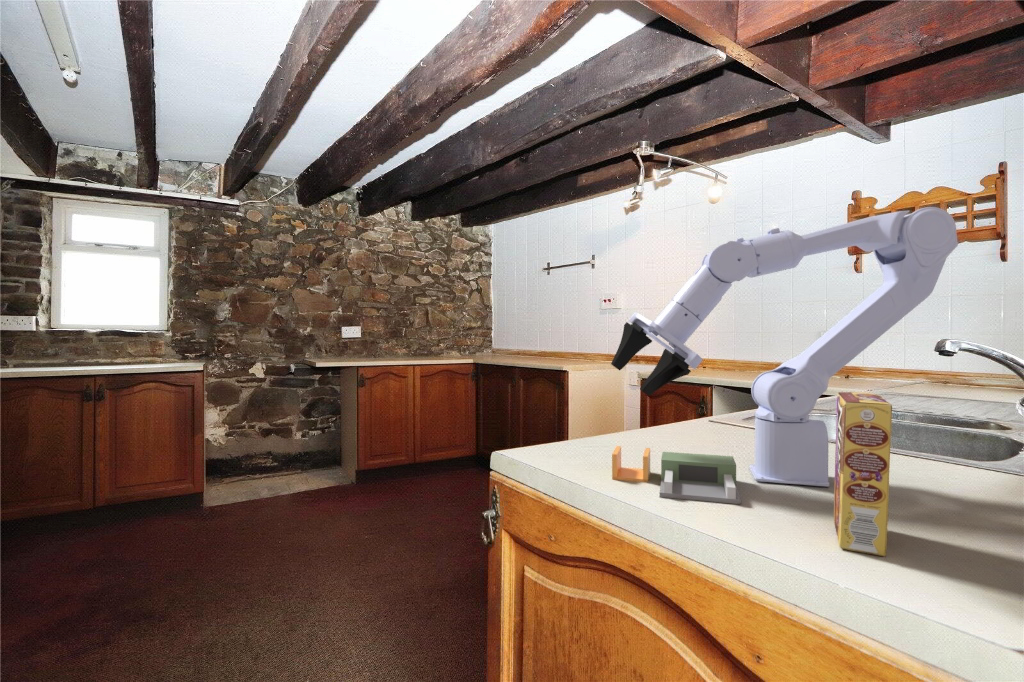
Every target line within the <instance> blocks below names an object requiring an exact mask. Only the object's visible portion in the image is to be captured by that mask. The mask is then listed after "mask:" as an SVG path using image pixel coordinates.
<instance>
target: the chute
mask: <svg viewBox="0 0 1024 682" xmlns="http://www.w3.org/2000/svg"><path fill="white" fill-rule="evenodd" d="M611 456H612V457H611V462H612V463H611V467H612V468H611V474H612V475H611V480H615V481H625V482H626V481H627V482H636V483H637V482H638V483H639V482H640V483H649V479H650V476H651V475H650V474H651V448H650V447H645V449H644V452H643V455H642V468H636V467H635V468H634V467H622V446H621V445H616V446H615V448H614V451H613V452H612V455H611Z"/></svg>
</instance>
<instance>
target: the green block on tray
mask: <svg viewBox="0 0 1024 682" xmlns="http://www.w3.org/2000/svg"><path fill="white" fill-rule="evenodd" d="M660 463H661V467H660V468H661V469H660V470H661V471H660V473H661V475H660V477H661V478H660V479H661V480H660V487H659V498H665V499H666V498H667V499H676V500H677V499H678V500H688V501H689V500H690V501H700V502H710V503H719V504H720V503H723V504H730V505H731V504H734V505H742V504H741V503H742V501H741V500H742V499H741V497H740V494H739V490H738V487H737V463H736V461H735V458H734V456H732V455H720V454H717V455H716V454H701V453H687V452H686V453H685V452H675V451H674V452H671V451H662V454H661V462H660Z"/></svg>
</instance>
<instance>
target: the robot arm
mask: <svg viewBox="0 0 1024 682" xmlns="http://www.w3.org/2000/svg"><path fill="white" fill-rule="evenodd" d="M958 246H959V242H958V234H957V224H956V221H955V219H954V218H953V216H952V215H951V214H950V213H949V212H948V211H947V210H945V209H943V208H939V207H937V206H927V207H926V206H925V207H922V208H918V209H917V210H915V211H913V212H911V213H910V210H898V211H895V212H889V213H883V214H877V215H874V216H868V217H865V218H861V219H857V220H853V221H850V222H846V223H842V224H840V225H835V226H831V227H828V228H823V229H821V230H817V231H813V232H809V233H806V234H801V235H799V234H797V233H795V232H793V231H791V230H789V229H787V230H786V229H785V230H781V229H780V228H779V227H776V228H772V229H769V230H768V231H767V234H765V235H760V236H757V237H752V238H749V239H744V238H743V237H738V238H736V239H735V240H729V241H727V242H726V243H723V244H720V245H718V246H717V247H716V248H714V249H713V250H710V252H709V253H708V254H705V255H704V257H703V258H702V261H701V266H700V267H698V268H697V269H696V270H695V272H694V274H693V276H690V277H689V278H688V279H687V280H686V281H685V283H684V284H683V285H682V286H681V288H680V289H679V290H678V291H677V293H675V295H674V296H673V297H672V298H671V300H670V301H669V302H668V303H667V305H666V306H665V307H664V308H663V310H662V311H661V312H660V313H659V314H658V315H657V317H656V318H654V320H650V319H649V318H647V317H645V316H643V315H642V314H640V313H639V312H637V311H635V312H634V313H633V314H632V315H631V317H629V319H628V322H627V321H626V322H625V324H624V325H623V331H622V335H621V339H620V343H619V345H618V348H617V350H616V353H615V354H614V356H613V359H612V361H611V364H610V365H611V366H613V367H614V368H616V369H617V370H618V371H621V370H622V369H623V368H624V367H625V366H626V365H627V364H628V363H629V362H630V361H631V360H632V359H633V357H635V355H637V354H638V353H639V352H640V351H641V350H643V349H644V348H645V347H647V346H648V345H649V344H652V342H653V340H654V341H655V342H656V343H658V344H660V345H661V346H662V347H664V349H663V352H662V354H661V356H660V359H659V360H658V362H657V364H656V365H655V367H654V368H653V370H652V371H651V373H650V374H649V375H648V376H647V378H646V379H645V380H644V382H643V383H642V385H641V386H640V388H639V390H640V391H641V392H642V393H644V394H645V395H646V396H648V397H650V396H651V395H652V394H654V393H655V392H656V391H658V390H660V388H662V387H664V386H665V385H667V384H669V383H671V382H672V381H675V380H677V379H678V378H682V377H685V376H687V375H688V376H689V374H690V373H691V372H692V371H691V369H689V368H692V369H693V370H696V369H697V368H698V367H699V365H700V364H701V363H703V361H704V358H702V356H700V355H699V354H698V353H696V352H695V351H693V350H692V349H691V348H689V347H688V346H687V345H685V344H686V342H687V341H688V340H689V338H691V336H692V335H693V334H694V333H695V332H696V330H697V329H698V328H699V327H700V326H701V324H702V323H703V322H704V321H705V320H706V318H707V317H708V316H709V315H710V314H711V313H712V312H713V310H714V309H715V308H716V307H717V305H718V304H719V303H720V302H721V301H722V299H723V296H724V295H725V294H726V293H727V292H728V290H729V289H730V288H731V287H732V285H733V284H732V283H734V282H740V281H742V280H744V279H745V278H746V277H748V278H755V277H760V276H765V275H768V274H772V273H773V274H775V273H778V272H782V271H786V270H791V269H794V268H797V267H798V266H799V264H800V262H801V261H803V258H804V257H807V256H812V255H816V254H821V253H826V252H830V251H831V252H832V251H836V250H840V249H846V248H850V247H857V248H859V249H860V250H862V251H863V252H867V253H868V252H869V253H870V252H872V253H873V254H874V257H875V259H876V261H877V263H878V265H879V268H880V269H881V273H882V280H883V283H882V285H880V286H879V287H878V288H877V289H876V290H874V291H873V292H872V293H871V294H870V295H868V296H867V297H866V298H865V299H863V300H862V301H861V302H860V303H858V305H856V307H854V308H853V309H852V310H851V311H849V312H848V313H847V314H845V316H844V317H842V318H841V319H840V320H839V321H838V322H836V323H835V324H834V325H833V326H831V328H829V329H828V330H827V331H826V332H825V333H823V334H822V335H821V336H820V337H819V338H818V339H816V340H815V341H814V342H813V343H811V345H809V346H808V347H807V348H806V349H805V350H803V351H802V352H801V353H800V354H798V355H796V356H795V357H792V358H790V359H788V360H786V361H784V362H782V363H780V365H779V366H777V367H776V368H774V369H771V370H767V371H764V372H762V373H760V374H758V375H757V376H756V377H755V378H754V380H753V382H752V383H751V389H750V391H751V392H750V393H751V397H752V399H753V401H754V403H755V404H756V405H758V408H757V410H756V411H755V413H754V464H752V463H751V464H749V466H748V467H749V469H750V472H751V474H752V476H753V478H754V480H755V481H756V482H764V483H775V484H788V485H789V484H790V485H802V486H815V487H830V482H829V434H828V428H827V425H826V423H825V421H823V420H820V419H810V414H811V412H812V411H813V410H814V409H815V406H816V403H817V401H818V399H819V398H820V397H821V396H822V395H823V394H824V393H825V392H827V390H828V387H829V383H830V381H829V380H830V379H831V378H833V376H834V375H835V374H837V373H838V372H839V371H840V370H841V369H843V368H844V367H845V366H846V365H847V364H849V363H850V362H852V361H853V360H854V359H855V358H856V357H857V356H858V355H860V354H861V353H862V352H863V351H865V350H867V348H868V347H869V346H870V345H872V344H873V343H875V341H877V340H878V339H880V338H881V336H883V335H884V334H885V333H886V332H887V331H889V330H890V329H891V328H893V326H895V325H896V324H897V323H899V321H901V320H903V318H904V317H906V316H907V315H908V314H909V313H910V312H912V311H913V310H914V309H915V308H917V307H918V306H919V305H921V303H923V302H924V301H925V300H926V299H927V298H929V296H931V295H932V293H933V291H934V289H935V287H936V284H937V282H938V281H939V277H940V275H941V273H942V270H943V268H944V266H945V263H946V261H947V258H948V257H949V256H950V255H951V254H952V253H953V251H954V250H956V248H957V247H958ZM630 323H631V324H630ZM658 336H659V337H660V338H662V339H663V340H664V341H666V342H667V343H668V344H667V343H665V342H664V341H663V340H661V339H660V338H658ZM652 339H653V340H652Z"/></svg>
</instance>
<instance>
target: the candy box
mask: <svg viewBox="0 0 1024 682" xmlns="http://www.w3.org/2000/svg"><path fill="white" fill-rule="evenodd" d="M836 396H837V397H836V401H837V402H836V421H835V422H836V428H835V456H834V457H835V464H834V488H833V491H834V492H833V493H834V494H833V495H834V498H833V500H834V501H833V523H834V528H835V532H836V536H837V542H838V546H839V548H840V549H843V550H848V551H853V552H857V553H862V554H868V555H874V556H880V557H886V556H887V545H888V544H887V542H888V539H887V538H888V523H889V522H888V521H889V520H888V518H889V517H888V515H889V514H888V513H889V496H890V495H889V491H890V487H889V486H890V465H891V464H890V463H891V442H892V441H891V438H892V437H891V436H892V419H893V417H892V415H893V405H892V404H891V403H890V402H889V401H887V400H886V399H885V398H883V397H882V396H881V395H879V394H877V393H876V394H875V393H871V392H852V391H850V392H845V391H844V392H843V391H842V392H841V391H840V392H837V394H836Z"/></svg>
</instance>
